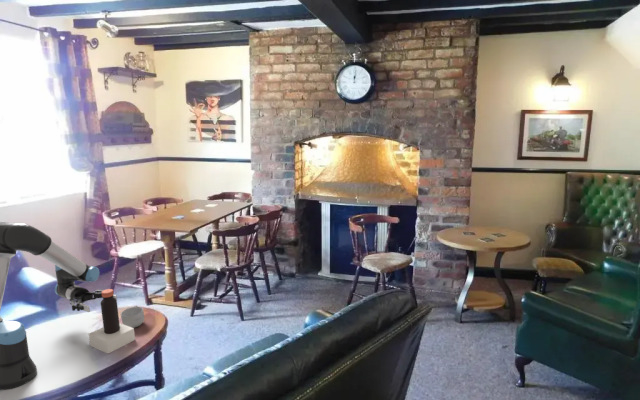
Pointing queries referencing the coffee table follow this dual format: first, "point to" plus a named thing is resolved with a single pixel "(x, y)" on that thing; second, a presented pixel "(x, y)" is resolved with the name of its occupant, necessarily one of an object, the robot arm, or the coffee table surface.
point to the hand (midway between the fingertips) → (102, 303)
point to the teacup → (132, 316)
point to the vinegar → (109, 312)
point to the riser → (111, 338)
